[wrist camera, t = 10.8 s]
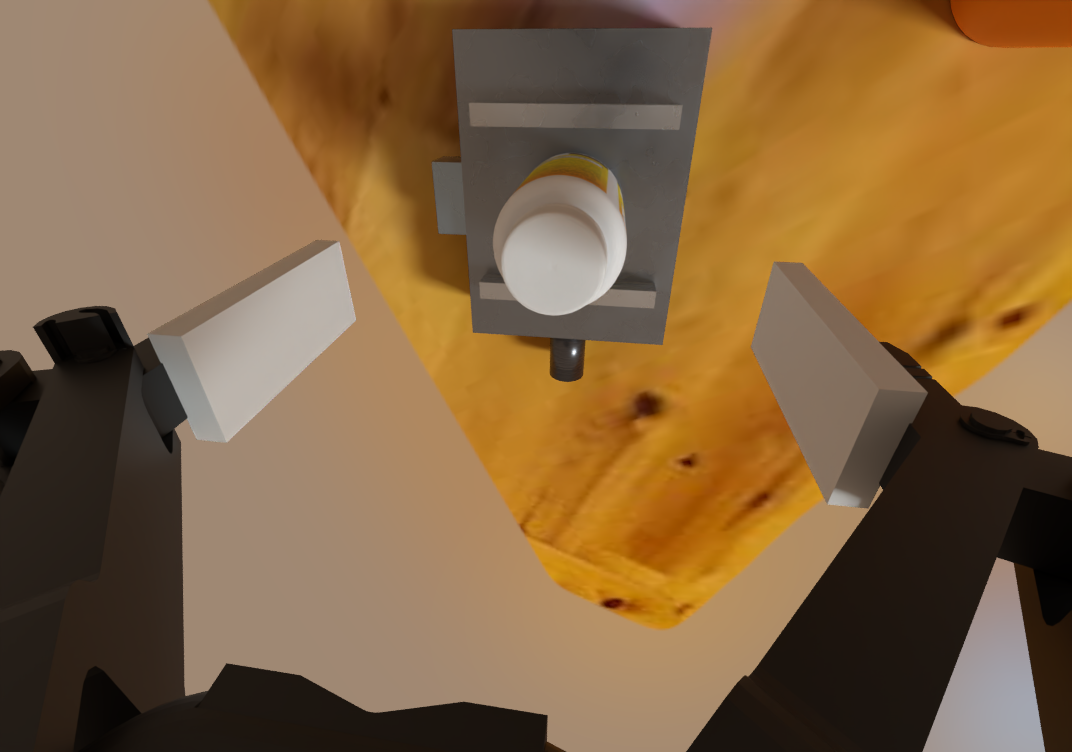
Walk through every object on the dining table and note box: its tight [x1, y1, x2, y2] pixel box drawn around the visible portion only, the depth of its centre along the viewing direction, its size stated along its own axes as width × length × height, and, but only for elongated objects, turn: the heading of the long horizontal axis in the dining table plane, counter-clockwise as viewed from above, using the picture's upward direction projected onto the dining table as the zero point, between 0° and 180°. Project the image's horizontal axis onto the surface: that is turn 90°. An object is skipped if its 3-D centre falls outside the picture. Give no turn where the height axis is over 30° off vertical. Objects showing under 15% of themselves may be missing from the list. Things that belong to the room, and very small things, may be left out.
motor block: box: [432, 28, 712, 382], centre depth 29 cm, size 20×14×6 cm
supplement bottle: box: [493, 153, 627, 315], centre depth 22 cm, size 6×6×10 cm
